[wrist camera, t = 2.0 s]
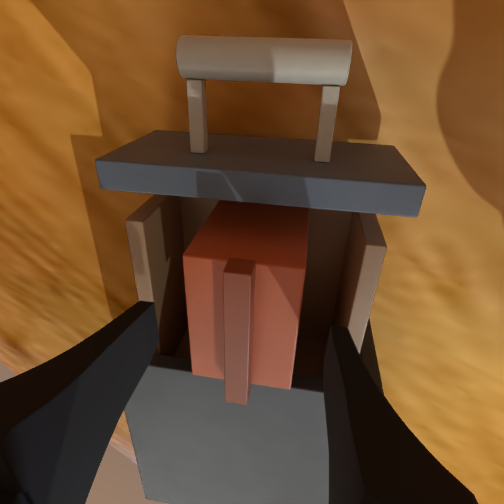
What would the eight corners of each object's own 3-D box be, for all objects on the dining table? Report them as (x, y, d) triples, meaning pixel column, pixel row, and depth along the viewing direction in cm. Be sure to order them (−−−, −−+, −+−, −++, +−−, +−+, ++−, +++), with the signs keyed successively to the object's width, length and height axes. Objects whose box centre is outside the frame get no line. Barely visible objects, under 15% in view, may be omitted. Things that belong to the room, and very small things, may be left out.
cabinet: (167, 275, 24) (111, 359, 17) (365, 298, 22) (385, 401, 16) (182, 404, 31) (145, 499, 24) (334, 429, 29) (338, 539, 22)
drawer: (145, 36, 16) (67, 29, 11) (417, 44, 14) (470, 40, 9) (175, 316, 24) (138, 384, 19) (349, 339, 23) (358, 420, 18)
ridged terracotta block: (218, 194, 18) (169, 265, 12) (309, 202, 17) (305, 281, 11) (220, 299, 21) (183, 395, 15) (297, 308, 21) (288, 412, 15)
